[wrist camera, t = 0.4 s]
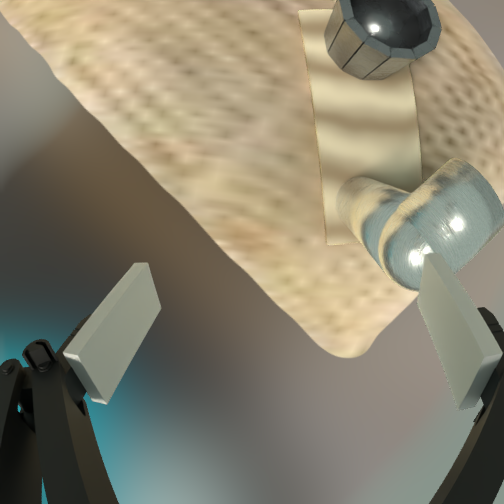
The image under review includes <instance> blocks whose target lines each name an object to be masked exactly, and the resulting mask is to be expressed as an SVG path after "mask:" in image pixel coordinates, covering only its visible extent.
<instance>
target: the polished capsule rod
mask: <svg viewBox="0 0 504 504" xmlns="http://www.w3.org/2000/svg"><path fill="white" fill-rule="evenodd" d="M335 205H336V211H337V213H338V215H339V217H340V218H341V220H342V221H343V222H344V223H345V225H346V226H347V227H348V228H349V229H350V230H351V232H352V233H353V234H354V235H355V236H356V238H357V239H358V240H359V241H360V243H361V244H362V245H363V246H364V247H365V249H366V250H367V251H368V252H369V254H370V255H371V256H372V257H373V259H374V260H375V261H376V262H377V264H378V265H379V266H380V267H381V269H382V270H383V271H384V273H385V274H386V275H387V276H388V277H389V278H390V279H391V280H392V281H393V282H394V283H395V284H397V285H398V286H400V287H402V288H404V289H406V290H410V291H415V292H419V289H420V283H421V277H422V271H423V265H424V259H425V254H428V253H440V254H441V256H442V257H443V258H444V260H445V261H446V263H447V264H448V265H449V267H450V268H451V270H452V271H453V273H454V274H456V273H457V272H458V271H459V270H460V269H461V268H462V267H463V266H465V265H466V264H467V263H468V262H469V261H470V260H471V259H472V258H473V257H474V256H475V255H476V254H477V253H479V251H480V250H482V249H483V248H484V247H485V246H486V245H487V244H488V243H489V242H490V241H491V240H492V239H493V238H494V237H495V236H496V235H497V234H498V233H499V232H500V231H501V229H502V228H504V210H503V207H502V204H501V202H500V200H499V198H498V196H497V194H496V193H495V191H494V190H493V188H492V187H491V185H490V184H489V183H488V181H487V180H486V179H485V178H484V177H483V176H482V175H481V174H480V173H479V172H478V171H477V170H476V169H475V168H474V167H472V166H471V165H470V164H468V163H467V162H465V161H463V160H461V159H458V158H451V159H450V160H448V161H447V162H446V163H445V164H444V165H443V166H442V167H441V168H440V169H439V170H437V171H436V172H435V173H434V174H433V175H432V176H431V177H430V178H428V179H427V180H426V181H425V182H424V183H423V184H422V185H421V186H419V187H418V188H417V189H416V190H415V191H414V192H413V193H409V192H406V191H403V190H401V189H398V188H395V187H393V186H390V185H387V184H384V183H382V182H379V181H376V180H373V179H370V178H367V177H354V178H351V179H349V180H347V181H346V182H345V183H344V184H343V185H342V186H341V187H340V188H339V190H338V192H337V195H336V200H335Z"/></svg>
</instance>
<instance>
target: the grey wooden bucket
mask: <svg viewBox="0 0 504 504" xmlns="http://www.w3.org/2000/svg"><path fill="white" fill-rule="evenodd" d="M441 30H442V29H441V24H440V20H439V17H438V13H437V10H436V7H435V6H434V3H433V2H432V1H431V0H337V1H336V4H335V6H334V9H333V11H332V14H331V16H330V19H329V21H328V24H327V27H326V29H325V32H324V39H325V45H326V50H327V53H328V55H329V56H330V57H331V59H332V60H333V61H334V62H335V63H336V65H337V66H338V67H339V68H340V70H341V69H342V71H343V72H345V73H348V74H350V75H352V76H354V77H356V78H358V79H360V80H361V79H362V80H383V79H385V78H387V77H388V76H390V75H392V74H393V73H395V72H396V71H398V70H400V69H401V68H403V67H405V66H406V65H408V64H410V63H411V62H413V61H415V60H416V59H418V58H420V57H421V56H423V55H425V54H427V53H428V52H430V51H432V50H434V49H435V48H436V45H437V42H438V39H439V36H440V33H441Z"/></svg>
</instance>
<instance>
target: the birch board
mask: <svg viewBox="0 0 504 504" xmlns="http://www.w3.org/2000/svg"><path fill="white" fill-rule="evenodd" d="M332 11H333V9H315V10H298V19H299V24H300V29H301V35H302V40H303V46H304V52H305V58H306V64H307V70H308V77H309V84H310V90H311V97H312V105H313V112H314V120H315V128H316V136H317V145H318V154H319V164H320V174H321V184H322V195H323V208H324V221H325V235H326V243H327V245H339V244H349V243H360V241H359V240H358V239H357V238H356V236H355V235H354V234H353V233H352V232H351V230H350V229H349V228H348V227H347V226H346V225H345V223H344V222H343V221H342V220H341V218H340V217H339V215H338V213H337V211H336V205H335V200H336V195H337V192H338V190H339V188H340V187H341V186H342V185H343V184H344V183H345V182H346V181H347V180H349V179H351V178H354V177H367V178H370V179H373V180H376V181H379V182H382V183H384V184H387V185H390V186H393V187H395V188H398V189H401V190H403V191H406V192H409V193H413V192H414V191H415V190H416V189H417V188H418V187H419V186H421V185H422V167H421V152H420V140H419V129H418V120H417V112H416V104H415V97H414V90H413V84H412V78H411V72H410V66H409V64H408V65H406V66H405V67H403V68H401V69H400V70H398V71H396V72H395V73H393V74H392V75H390V76H388V77H387V78H385V79H383V80H362V79H361V80H360V79H358V78H356V77H354V76H352V75H350V74H348V73H345V72H343V71H342V69H341V70H340V68H339V67H338V66H337V65H336V63H335V62H334V61H333V60H332V59H331V57H330V56H329V55H328V53H327V50H326V45H325V39H324V32H325V29H326V27H327V24H328V21H329V19H330V16H331V14H332Z"/></svg>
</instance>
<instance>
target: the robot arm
mask: <svg viewBox="0 0 504 504" xmlns="http://www.w3.org/2000/svg"><path fill="white" fill-rule="evenodd" d="M417 305H418V307H419V310H420V312H421V314H422V316H423V319H424V321H425V324H426V326H427V328H428V331H429V333H430V336H431V338H432V341H433V343H434V345H435V348H436V351H437V354H438V356H439V359H440V361H441V364H442V367H443V369H444V372H445V375H446V378H447V380H448V384H449V387H450V389H451V393H452V396H453V399H454V402H455V404H456V408H457V410H463V409H468V408H472V407H475V405H476V404H477V402H478V400H479V399H480V397H481V399H482V401H483V404H484V405H483V407H482V409H481V410H480V412H479V413H478V415H477V416H476V418H475V419H474V421H473V422H475V423H474V426H473V427H472V430H471V432H470V434H469V436H468V438H467V440H466V442H465V444H464V446H463V448H462V449H461V451H460V453H459V455H458V457H457V459H456V460H455V462H454V464H453V466H452V468H451V469H450V471H449V473H448V474H447V476H446V478H445V479H444V481H443V483H442V484H441V486H440V487H439V489H438V490H437V492H436V494H435V495H434V497H433V498H432V500H431V501H430V503H429V504H493V501H494V499H495V497H496V495H497V493H498V491H499V488H500V487H501V484H502V482H503V480H504V332H503V329H502V328H501V326H500V325H499V323H498V321H497V320H496V318H495V316H494V315H493V314H492V313H491V312H490V311H488V310H487V309H486V308H485V307H482V308H476V306H475V304H474V303H473V301H472V300H471V298H470V297H469V295H468V294H467V292H466V290H465V289H464V287H463V286H462V284H461V283H460V281H459V280H458V278H457V277H456V276H455V274H454V273H453V271H452V270H451V268H450V267H449V265H448V264H447V263H446V261H445V260H444V258H443V257H442V256H441V254H440V253H428V254H425V259H424V265H423V271H422V277H421V283H420V289H419V294H418V300H417ZM160 310H161V306H160V302H159V299H158V296H157V293H156V289H155V286H154V283H153V279H152V276H151V272H150V269H149V266H148V263H134V264H133V266H132V267H131V268H130V269H129V271H127V273H126V274H125V275H124V276H123V277H122V279H121V280H120V281H119V282H118V283H117V285H116V286H115V287H114V288H113V289H112V291H111V292H110V293H109V294H108V295H107V297H106V298H105V299H104V300H103V302H102V303H101V304H100V305H99V306H98V308H97V309H96V310H95V311H94V313H93V314H90V315H88V316H87V317H86V318H84V319H83V320H82V321H81V322H80V323H79V324H78V325H77V327H76V328H75V330H73V332H72V333H71V336H69V337H68V338H67V339H66V341H65V342H64V343H63V344H62V346H61V347H60V348H59V350H58V351H57V352H56V354H55V352H54V351H53V349H52V347H51V345H50V343H49V342H48V341H47V340H44V339H39V340H35V341H33V342H32V343H30V344H29V345H28V346H26V348H25V349H24V351H23V354H22V356H23V358H24V359H25V361H26V362H27V364H28V365H29V367H22V365H21V364H20V362H19V360H17V359H9V360H6V361H5V362H3V363H2V365H1V366H0V504H42V503H41V502H42V501H41V499H42V497H41V496H42V478H43V483H44V488H45V492H46V497H47V501H48V504H119V503H118V501H117V498H116V495H115V493H114V490H113V488H112V485H111V482H110V480H109V477H108V474H107V471H106V469H105V466H104V463H103V460H102V457H101V454H100V450H99V447H98V444H97V441H96V437H95V434H94V431H93V427H92V424H91V420H90V416H89V412H88V408H87V404H86V402H85V400H84V399H83V397H84V395H85V393H86V392H87V393H88V395H89V396H90V398H91V399H92V401H95V402H100V403H103V404H108V402H109V400H110V398H111V396H112V395H113V393H114V391H115V389H116V387H117V385H118V383H119V382H120V380H121V378H122V376H123V374H124V373H125V371H126V369H127V367H128V365H129V363H130V362H131V360H132V358H133V356H134V354H135V353H136V351H137V349H138V348H139V346H140V344H141V342H142V341H143V339H144V337H145V335H146V334H147V332H148V330H149V328H150V327H151V325H152V323H153V321H154V320H155V318H156V316H157V315H158V313H159V311H160ZM18 405H19V406H20V407H21V410H20V413H19V412H18Z"/></svg>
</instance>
